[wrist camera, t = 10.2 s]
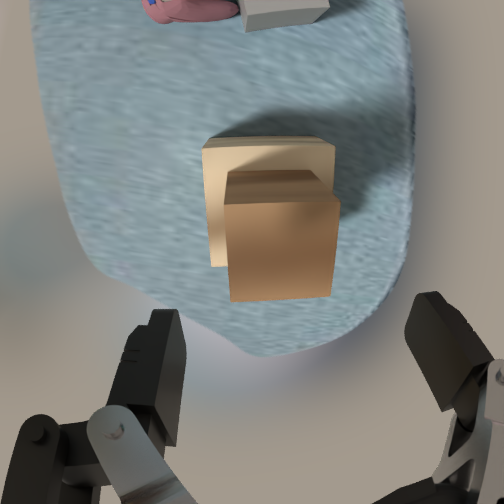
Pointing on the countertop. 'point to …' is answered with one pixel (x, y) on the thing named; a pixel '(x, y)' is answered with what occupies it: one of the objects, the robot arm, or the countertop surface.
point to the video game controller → (189, 10)
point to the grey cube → (279, 13)
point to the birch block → (256, 159)
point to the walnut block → (279, 235)
